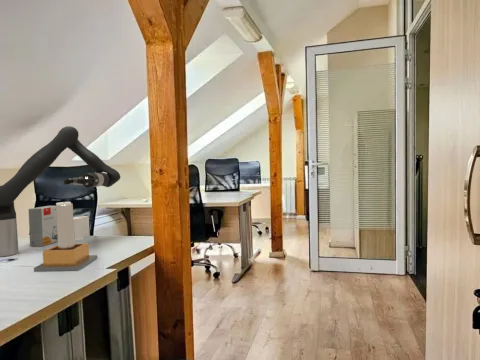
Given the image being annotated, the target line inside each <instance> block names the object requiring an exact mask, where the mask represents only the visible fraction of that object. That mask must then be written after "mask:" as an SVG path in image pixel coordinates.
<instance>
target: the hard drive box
mask: <svg viewBox="0 0 480 360" xmlns="http://www.w3.org/2000/svg"><path fill="white" fill-rule="evenodd" d="M28 227H29V228H28V229H29V247H45V246H47V245H50V244H54V243H58V238H57V221H56V205H46V206H45V205H44V206H38V207H32V208H28Z"/></svg>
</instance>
